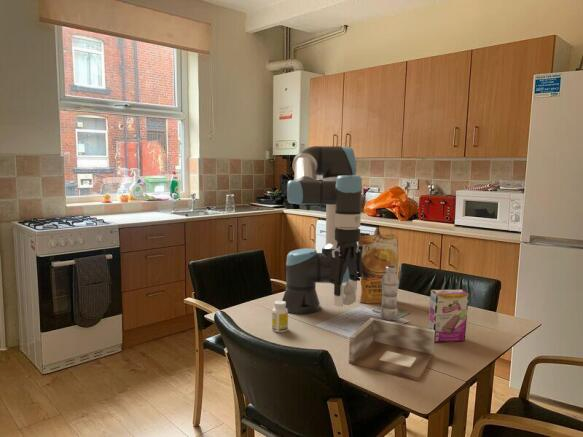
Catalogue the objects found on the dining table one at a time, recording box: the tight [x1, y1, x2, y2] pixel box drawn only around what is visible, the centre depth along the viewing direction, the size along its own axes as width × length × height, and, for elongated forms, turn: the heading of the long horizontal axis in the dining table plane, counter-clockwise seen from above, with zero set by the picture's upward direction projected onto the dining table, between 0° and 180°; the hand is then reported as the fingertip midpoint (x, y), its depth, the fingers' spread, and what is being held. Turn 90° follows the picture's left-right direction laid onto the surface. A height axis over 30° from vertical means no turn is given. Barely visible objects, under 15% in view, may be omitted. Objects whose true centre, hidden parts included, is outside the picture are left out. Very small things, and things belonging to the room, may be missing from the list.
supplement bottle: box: [271, 300, 289, 333], centre depth 149 cm, size 5×5×10 cm
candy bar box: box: [427, 289, 470, 343], centre depth 143 cm, size 11×5×16 cm, turn 97°
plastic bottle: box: [379, 266, 400, 322], centre depth 160 cm, size 6×7×20 cm
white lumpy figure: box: [342, 279, 357, 306], centre depth 131 cm, size 5×7×8 cm
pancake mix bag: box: [357, 234, 399, 304], centre depth 182 cm, size 7×19×28 cm, turn 103°
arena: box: [348, 317, 435, 382], centre depth 128 cm, size 20×18×8 cm
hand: (345, 303), depth 132 cm, fingers closed on white lumpy figure, 6 cm apart
